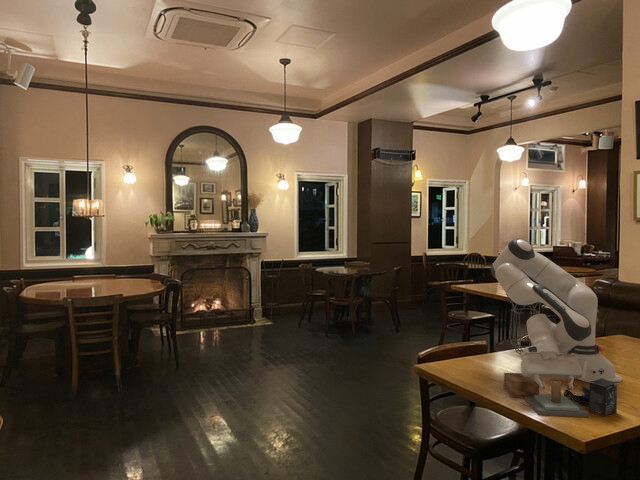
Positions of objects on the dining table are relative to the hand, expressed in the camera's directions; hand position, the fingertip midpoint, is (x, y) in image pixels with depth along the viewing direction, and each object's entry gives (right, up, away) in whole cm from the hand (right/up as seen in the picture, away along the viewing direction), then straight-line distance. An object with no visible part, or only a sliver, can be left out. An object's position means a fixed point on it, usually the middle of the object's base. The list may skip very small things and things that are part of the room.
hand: (556, 388), depth 161 cm
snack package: (+14, -8, +8) cm, 18 cm away
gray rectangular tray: (0, -7, +1) cm, 7 cm away
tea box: (-5, -7, +17) cm, 19 cm away
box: (+15, -8, -2) cm, 17 cm away
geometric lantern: (+21, -6, +72) cm, 75 cm away
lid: (0, -6, +1) cm, 6 cm away
